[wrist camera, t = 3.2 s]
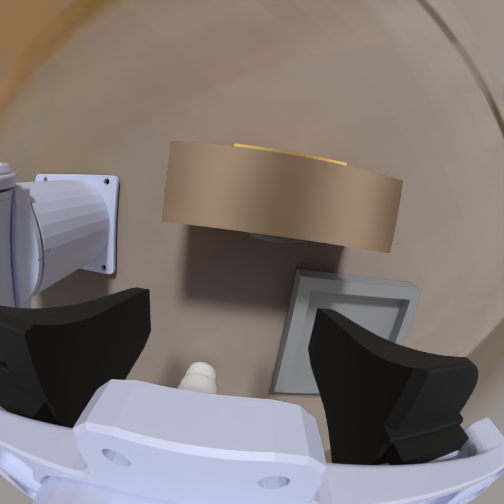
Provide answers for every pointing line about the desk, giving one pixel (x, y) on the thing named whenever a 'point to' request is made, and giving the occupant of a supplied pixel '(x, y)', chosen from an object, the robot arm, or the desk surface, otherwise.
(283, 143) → the desk surface
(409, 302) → the tray
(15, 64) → the desk surface
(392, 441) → the robot arm
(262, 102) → the desk surface
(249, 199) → the lamp housing
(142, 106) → the desk surface
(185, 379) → the lightbulb
